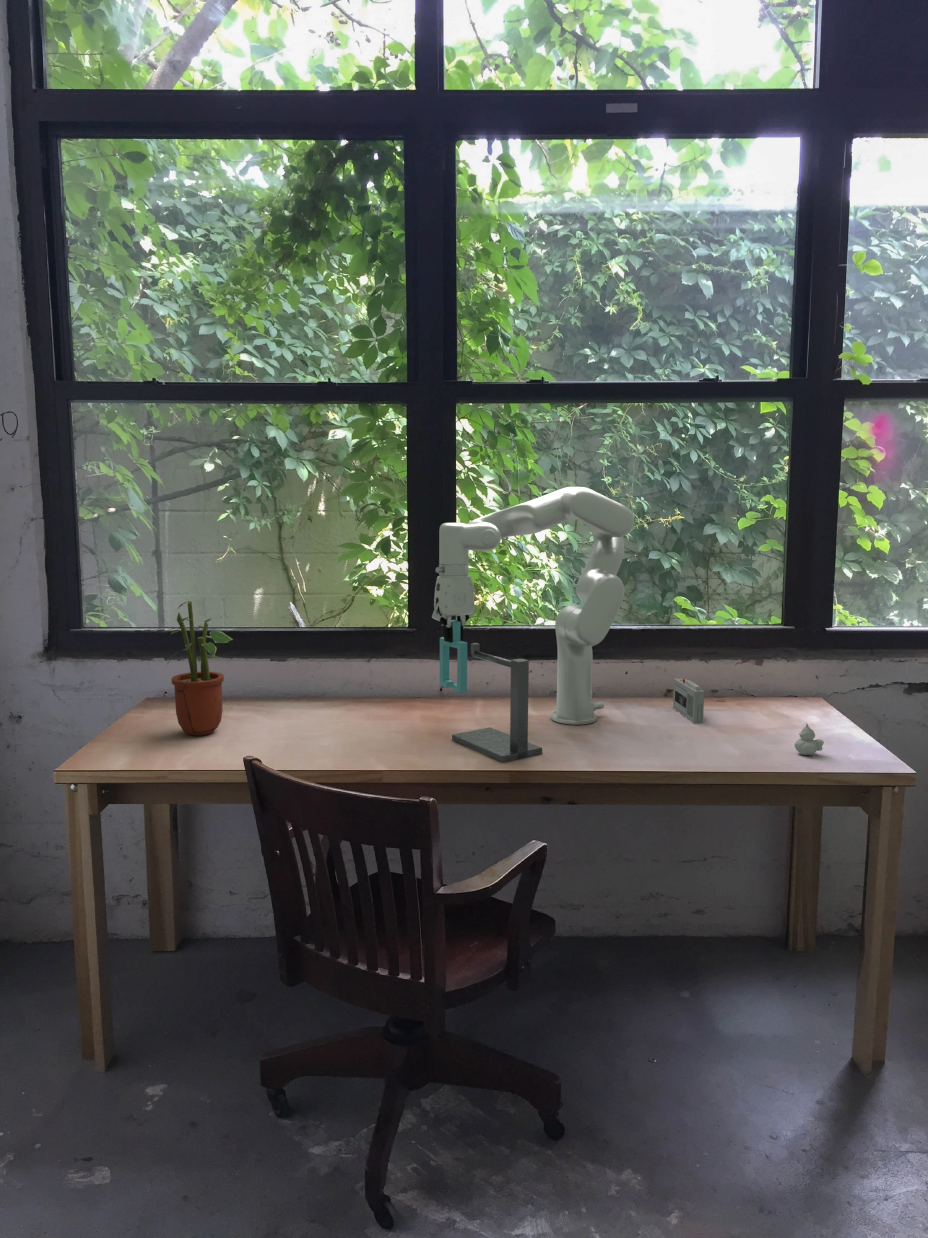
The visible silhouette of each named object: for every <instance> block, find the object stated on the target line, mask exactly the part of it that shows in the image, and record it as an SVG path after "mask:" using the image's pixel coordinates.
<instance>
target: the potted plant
mask: <svg viewBox="0 0 928 1238" xmlns="http://www.w3.org/2000/svg"><path fill="white" fill-rule="evenodd" d="M186 603H187V609H188V610H187V611H188V616H187V617H184V618H183V617H182V615H181V613H180V612H179V611H178V613H177V618H176V621H177V623H178V625H179V627H180V629H174V630H173V631H172V632H171V633H170V635H173V634H175V633H178V632H181V633H182V638H183V642H184V645H185V649H184V648H183V649H182V650H179V651H177V652H175V653H173V654H172V655H171V656H170V658H169V659H168V662H167V663H166V665H169V663H170V661H171V660H172V659H173V658H174V657H175V656H176V655H177V654H178V653H180V652H181V651H186V655H187V659H188V666H189V671H190V672H186V673H185V672H184V673H180V674H176V675H173V676H172V677H171V684H172V685H173V686H174V703H175V704H174V705H175V714H176V719H177V723H178V725H179V726H180V728H181V729H182V731H183V732H184V733H186V734H188V735H190V736H192V737H193V736H195V737H196V736H197V737H200V736H206V735H210V734H212V733H214V732H215V731H216V730H217V729H218V728H219V725H220V724H221V723H222V716H223V712H224V709H223V706H224V705H223V684H222V683H223V682H225V674H224V673H221V672H216V671H210V667H209V659H208V658H212V659H214V658H216V659H224V658H222V657H220V656H217V655H215V654H216V652H217V646H215V644H216V643H217V644H218V643H219V644H225V643H226V644H227V643H229V642H231V641H234V639H233V638H232V637H230V636H229V635H227V634H225V633H224V632H223V631H219V630H211V631H210V632H209V636H208V629H209V628H208V627H209V623H208V622H210V621H211V620H212V619H215V617H211V618H207V619H206V620H204V621H203V622H204V624H203V625H198V626H196V627H195V624H194V614H193V612H194V611H193V605H192V604H193V601H191V600H189V601H185V602H183V603H181V604H180V605H179V606H178V607H177V610H178V609H180V607H182V606H183V605H185V604H186ZM185 621H187V622H188V624H189V634H190V640H189V637H188V633H187V632H188V631H187V629H186V626H185ZM202 627H203V628H202ZM196 628H197V629H198V628H202V629H203V630H202V636H198V637H197V641H198V642H197V643H198V646H199V647H198V649H199V654H200V656H197V651H196V650H197V649H196V648H197V647H196V636H195V629H196ZM207 638H209V639H212V640H213V641H214V643H215V644H214V643H213V642H207ZM208 653H209V654H208ZM197 661H198V662H197ZM197 663H200V671H198V664H197Z"/></svg>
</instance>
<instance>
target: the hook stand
mask: <svg viewBox="0 0 928 1238" xmlns="http://www.w3.org/2000/svg"><path fill="white" fill-rule="evenodd" d="M480 645H481V644H480V643H479V642H473V643H470V655H471V656H472V657H473V658H476V659H480V660H483V661H487V662H490V663H494V664H496V665H497V664H498V665H501V666H504V667H509V668H510V710H509V711H510V714H509V715H510V720H509V722H510V724H509V734H508V733H506V732H503V731H501V730H498V729H495V728H493V727H489V726H488V727H486V728H485V727H484V728H479V729H475V730H469V731H464V732H459V733H452V734H451V741H452V742H455V743H457V744H459V745H461V746H464V747H466V748H468V749H471V750H473V751H476V752H478V753H480V754H482V755H485V756H486V757H490V758H492V759H493V760H496V761H498V762H501V763H505V762H509V761H510V762H511V761H515V760H520V759H524V758H529V757H532V756H538V755H543V747H541V746H539V745H536V744H534V743H531V742H529V683H530V681H529V679H530V678H529V676H530V675H529V673H530V672H529V671H530V670H529V669H530V668H529V667H530V664H529V662H530V661H529V660H527V659H524V658H517V659H516V658H515V659H508V658H507V659H506V658H504V657H503V658H502V657H500V656H495V655H492V654H488V653H484V652H482V651H480V650H481V649H480Z"/></svg>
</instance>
